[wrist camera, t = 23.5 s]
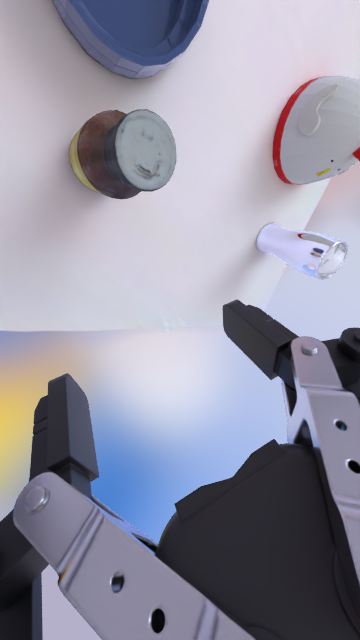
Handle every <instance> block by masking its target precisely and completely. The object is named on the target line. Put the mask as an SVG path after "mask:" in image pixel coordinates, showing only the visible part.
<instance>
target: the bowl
mask: <svg viewBox="0 0 360 640" xmlns="http://www.w3.org/2000/svg"><path fill="white" fill-rule="evenodd" d="M53 2H54V4H55V6H56V8H57V10H58V12H59V14H60V16H61V18H62V20H63V21H64V23H65V25H66V26H67V27H68V28H69V30H70V31H71V32H72V34H73V35H74V36H75V37H76V39H77V40H78V41H79V43H80V44H81V45H82V46H83V48H84V49H85V50H86V52H87V53H88V54H89V55H91V56H92V57H93V58H94V59H96V60H97V61H98V62H99V63H101V64H102V65H103V66H105V67H106V68H107V69H108V70H110V71H112V72H114V73H117V74H120V75H123V76H126V77H129V78H133V79H136V78H144V77H151V76H153V75H155V74H156V73H157V72H159V71H160V70H162V69H163V68H164V67H166V66H167V65H169V64H170V63H171V62H172V61H173V60H175V59H176V58H177V57H178V56H179V55H181V54H182V53H183V52H184V51H185V50H186V49H187V47H188V46H189V44H190V43H191V41H192V40H193V38H194V36H195V35H196V33H197V32H198V30H199V29H200V27H201V24H202V21H203V18H204V15H205V12H206V9H207V6H208V2H209V0H53Z"/></svg>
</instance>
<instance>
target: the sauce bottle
mask: <svg viewBox="0 0 360 640" xmlns="http://www.w3.org/2000/svg"><path fill="white" fill-rule="evenodd" d="M69 159H70V163H71V166H72V169H73V171H74V173H75V175H76V176H77V178H78V179H79V180H80V181H81V182H82V183H83V184H84V185H85V186H86V187H88V188H89V189H91V190H94V191H96V192H99V193H101V194H103V195H106V196H108V197H112V198H116V199H127V198H131V197H133V196H135V195H137V194H138V193H139V192H141V191H155V190H157V189H159V188H161V187H163V186H164V185H166V183H167V182H168V181H169V180H170V178H171V176H172V174H173V171H174V168H175V164H176V146H175V141H174V138H173V135H172V132H171V130H170V128H169V127H168V125H167V124H166V122H165V121H164V120H163V119H162V118H161V117H160V116H158V115H157V114H156V113H154V112H151V111H149V110H147V109H146V110H135V111H132V112H130V113H128V114H125V113H123V112H120V111H118V110H115V111H111V110H110V111H109V110H108V111H105V112H101V113H99V114H96V115H95V116H93V117H92V118H91V119H89V120H88V121H87V122H86V123H85V124H84V125H83V127H82V128H81V129H80V130H79V131H78V133H77V134H76V135H75V136H74V138H73V139H72V142H71V144H70V149H69Z"/></svg>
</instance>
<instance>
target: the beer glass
mask: <svg viewBox="0 0 360 640" xmlns="http://www.w3.org/2000/svg"><path fill="white" fill-rule="evenodd" d="M257 248H258V250H259V251H261V252H263V253H269V254H272V255H275V256H276V257H278V258H279V259H281V260H282V261H283V262H285V263H286V264H287V265H289V266H290V267H292V268H293V269H295V270H297V271H299V272H302V273H304V274H307V275H310V276H313V277H316V278H318V279H321V280H323V279H327V278H329V277H330V276H331V275H333V274H334V273H335V272H336V271H337V270H338V269H339V267H340V266H341V265H342V263H343V261H344V260H345V257H346V255H347V251H348V245H347V243H346V242H344V241H341V240H338V239H336V238H333V237H330V236H327V235H324V234H321V233H317V232H311V231H300V230H288V229H285V228H283V227H281V226H279V225H278V224H275V223H270V224H268V225H266V226H265V227H264V228H263V229H262V230H261V231H260V233H259V235H258V238H257Z"/></svg>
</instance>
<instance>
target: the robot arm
mask: <svg viewBox="0 0 360 640" xmlns="http://www.w3.org/2000/svg"><path fill="white" fill-rule="evenodd" d="M223 327H224V331H225V333H226V335H227V336H228V337H229V338H230V339H231V340H232V341H233V342H234V343H235V344H236V345H237V346H238V347H239V348H240V349H241V350H242V351H243V352H244V353H245V354H246V355H247V356H248V357H249V358H250V359H251V360H252V361H253V362H254V363H255V364H256V365H257V366H258V367H259V368H260V369H261V370H262V371H263V373H264V374H266V376H268V378H269V379H270V380H272V379H274V378H275V377H277V376H279V377H280V378H281V379H282V389H283V396H284V402H285V407H286V414H287V440H288V443H286V444H278V443H277V442H276V441H275V439H273V440H271V441H270V442H268V443H267V444H265V445H264V446H262V447H261V448H259V449H258V450H256V451H255V452H253V453H252V454H251V455H250V456H249V458H248V459H247V460H246V461H245V463H244V464H243V465H242V467H241V468H240V469H239V470H238V471H237V473H236V474H235V475H234V476H233V477H232V478H230V479H226V480H223V481H219V482H215V483H212V484H208V485H204V486H201V487H200V488H198V489H197V490H195V491H193V492H192V493H191V494H189V495H187V496H186V497H184V498H183V499H181V500H180V501H178V502H177V503H175V507H176V510H177V511H176V513H175V514H174V515H173V516H172V517H171V519H170V520H169V522H168V524H167V525H166V527H165V529H164V531H163V533H162V536H161V538H160V541H159V544H157V543H156V542H154V541H153V540H152V539H150V538H149V537H148V536H146V535H145V534H144V533H142V532H141V531H140V530H138V529H137V528H135V527H134V526H132V525H131V524H129V523H128V522H127V521H125V520H124V519H123V518H121V517H120V516H119V515H118V514H116V513H115V512H114V511H112V510H111V509H110V508H109V507H107V506H106V505H105V504H103V503H102V502H101V501H100V500H98V499H97V498H96V497H94V496H93V495H92V494H91V485H90V482H91V481H93V480H94V479H96V478H98V477H99V473H98V466H97V460H96V453H95V447H94V439H93V432H92V425H91V418H90V411H89V405H88V400H87V398H86V395H85V393H84V392H83V391H82V389H81V388H80V387H79V385H78V384H77V383H76V382H75V381H74V379H73V378H72V377H71V376H70V375H69V374H68V373H67V374H64V375H62V376H60V377H58V378H55V379H53V380H51V381H49V383H48V395H47V396H45V397H42V398H41V399H40V401H39V403H38V405H37V407H36V409H35V414H34V427H33V434H34V436H33V441H32V454H31V468H30V478H29V483H28V484H27V485H26V486H25V487H24V489H23V490H22V491H21V493H20V495H19V497H18V499H17V501H16V504H15V506H14V509H13V510H12V511H11V512H10V513H9V514H8V515H7V516H6V517H5V518H4V519H3V520H2V521H1V522H0V640H42V585H41V572H42V571H43V570H44V569H45V568H46V567H47V566H48V565H49V564H50V565H51V566H52V567H53V569H54V570H55V571H56V572H57V574H58V576H59V579H58V586H59V588H60V590H61V592H62V593H63V595H64V596H65V597H66V598H67V600H68V601H69V602H70V603H71V604H72V605H73V606H74V608H75V609H76V610H77V611H78V612H79V613H80V615H81V616H82V617H83V618H84V619H85V620H86V621H87V623H88V624H89V625H90V626H91V627H92V628H93V630H94V631H95V632H96V633H97V634H98V635H99V636H100V638H101V639H102V640H360V328H348V329H346V330H344V331H343V332H342V335H341V337H340V338H339V339H332V340H327V341H319V340H318V339H315V338H312V337H299V336H297V335H296V334H294V333H293V332H291V331H290V330H289V329H287V328H285V327H284V326H283V325H282V324H280V323H279V322H277V321H276V320H273V318H272V317H270V316H269V315H267V314H266V313H265V312H264V311H262V310H261V309H259V308H257V307H254V306H251V305H247V306H246V305H244V304H243V303H242V302H240V301H239V300H234V301H232V302H230V303H228V304H225V305H224V306H223Z"/></svg>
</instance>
